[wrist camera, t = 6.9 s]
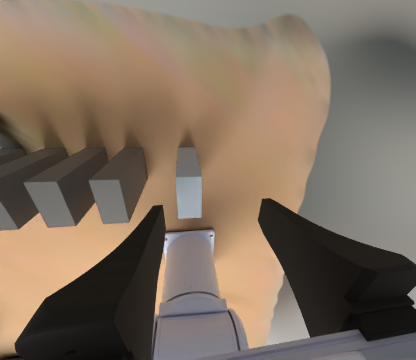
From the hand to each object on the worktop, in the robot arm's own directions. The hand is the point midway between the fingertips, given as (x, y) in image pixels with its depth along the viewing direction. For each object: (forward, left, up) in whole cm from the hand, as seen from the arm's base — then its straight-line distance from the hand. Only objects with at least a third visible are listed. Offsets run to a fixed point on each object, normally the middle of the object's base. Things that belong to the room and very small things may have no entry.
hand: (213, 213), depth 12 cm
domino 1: (0, +16, -10) cm, 19 cm away
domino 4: (0, +2, -10) cm, 10 cm away
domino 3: (0, +8, -10) cm, 13 cm away
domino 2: (0, +12, -10) cm, 15 cm away
